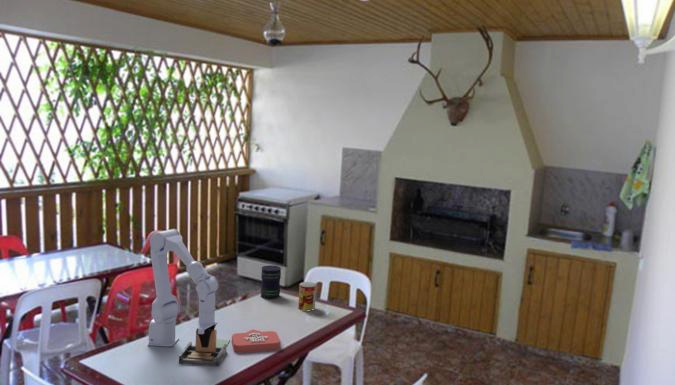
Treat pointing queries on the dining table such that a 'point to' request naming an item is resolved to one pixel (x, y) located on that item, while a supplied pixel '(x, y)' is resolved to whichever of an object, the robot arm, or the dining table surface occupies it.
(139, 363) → the dining table surface
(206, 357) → the block
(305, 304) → the canned food
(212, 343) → the tall orange plank
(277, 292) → the storage jar
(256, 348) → the red flat case
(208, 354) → the offcut short
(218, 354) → the rack
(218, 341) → the mat
